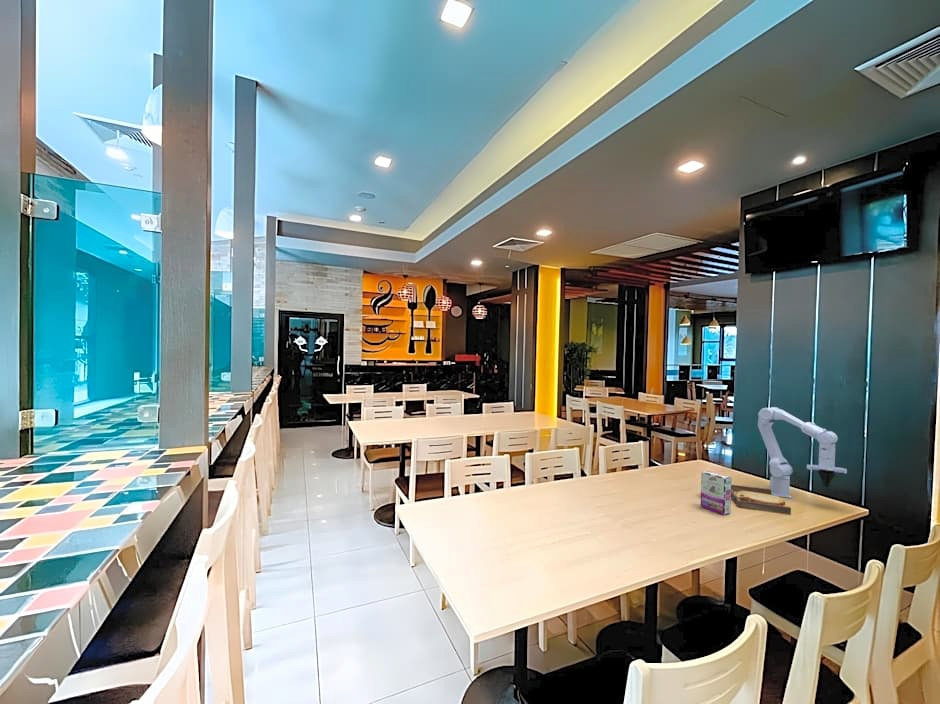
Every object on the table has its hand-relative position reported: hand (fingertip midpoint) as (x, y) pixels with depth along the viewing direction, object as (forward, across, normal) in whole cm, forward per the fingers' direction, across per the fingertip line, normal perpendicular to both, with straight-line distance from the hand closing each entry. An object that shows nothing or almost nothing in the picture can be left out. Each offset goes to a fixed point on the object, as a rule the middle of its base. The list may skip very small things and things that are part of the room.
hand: (825, 486), depth 193 cm
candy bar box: (+10, -50, -25) cm, 57 cm away
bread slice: (+10, -27, -3) cm, 29 cm away
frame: (+10, -28, -4) cm, 30 cm away
